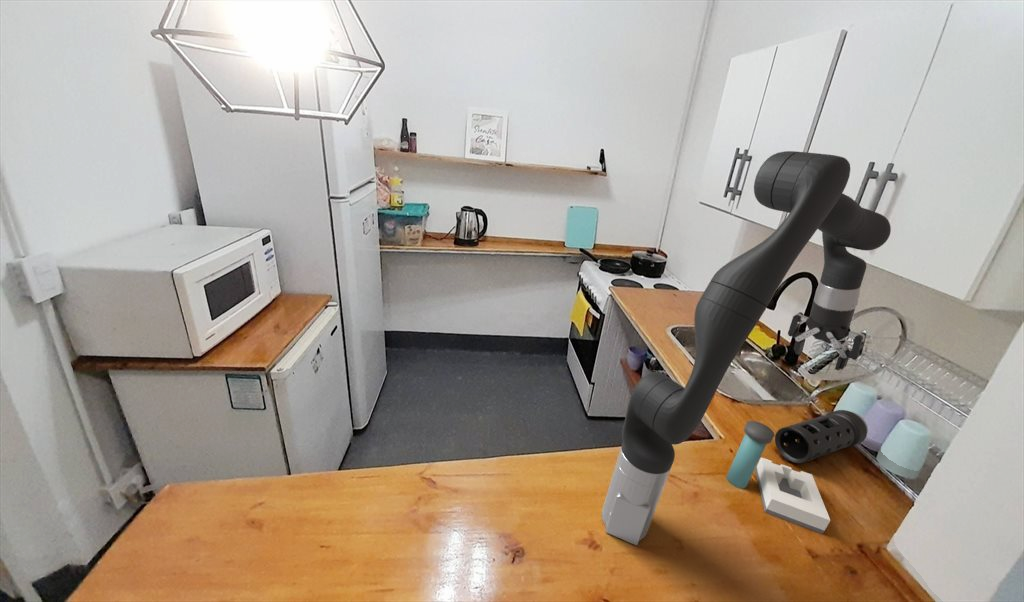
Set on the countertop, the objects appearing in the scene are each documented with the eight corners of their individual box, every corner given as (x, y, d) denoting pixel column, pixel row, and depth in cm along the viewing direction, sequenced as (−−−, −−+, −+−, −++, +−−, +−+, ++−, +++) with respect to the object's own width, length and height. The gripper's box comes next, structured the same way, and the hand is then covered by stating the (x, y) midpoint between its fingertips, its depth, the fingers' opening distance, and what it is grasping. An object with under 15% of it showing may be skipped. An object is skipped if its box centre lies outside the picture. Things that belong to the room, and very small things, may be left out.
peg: (751, 494, 93) (776, 441, 87) (724, 484, 94) (748, 431, 88) (747, 477, 98) (771, 426, 92) (722, 468, 99) (745, 417, 93)
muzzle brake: (766, 449, 109) (781, 418, 105) (825, 430, 121) (840, 401, 117) (802, 475, 101) (819, 443, 97) (860, 452, 113) (878, 422, 109)
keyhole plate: (822, 534, 85) (830, 520, 83) (764, 512, 88) (771, 498, 87) (805, 487, 97) (812, 474, 96) (755, 469, 100) (760, 457, 99)
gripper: (791, 296, 94) (778, 354, 101) (866, 318, 83) (845, 381, 90) (807, 286, 97) (794, 342, 104) (881, 306, 86) (860, 367, 93)
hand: (817, 360), depth 97 cm, fingers open, 8 cm apart
